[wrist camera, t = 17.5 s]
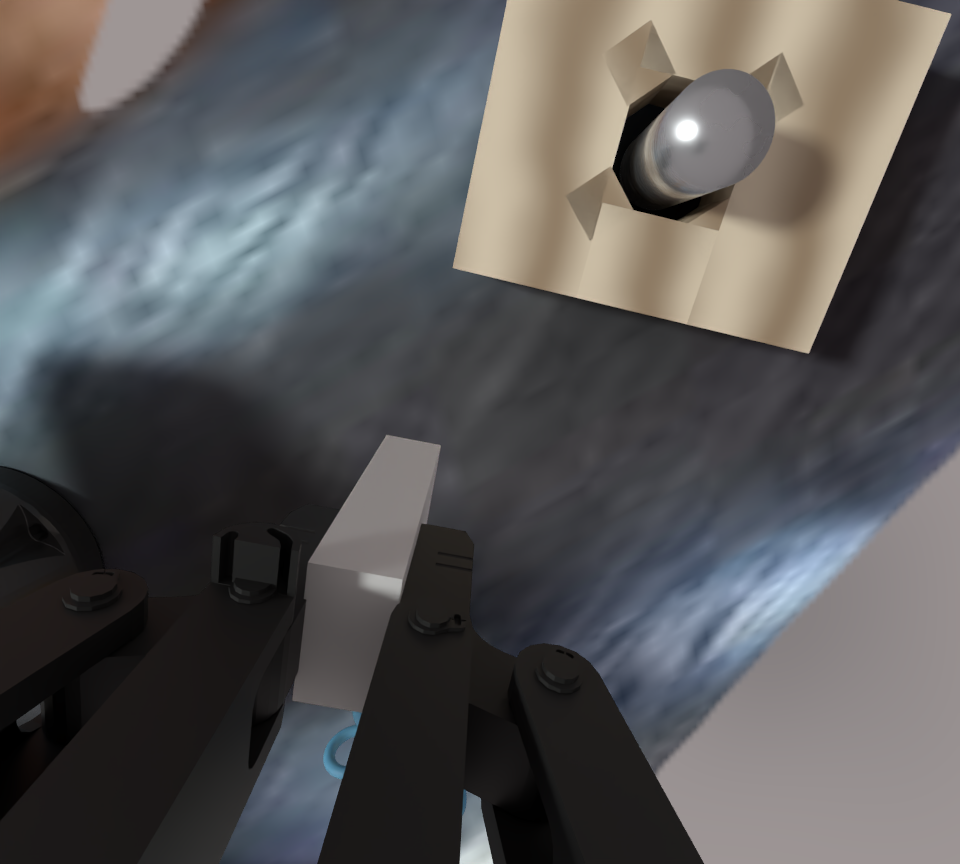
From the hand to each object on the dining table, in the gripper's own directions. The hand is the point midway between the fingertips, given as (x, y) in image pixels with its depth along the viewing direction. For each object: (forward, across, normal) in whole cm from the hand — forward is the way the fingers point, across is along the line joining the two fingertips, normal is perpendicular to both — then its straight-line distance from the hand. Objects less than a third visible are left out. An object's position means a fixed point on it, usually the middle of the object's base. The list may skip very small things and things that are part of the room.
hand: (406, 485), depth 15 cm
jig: (+21, -10, -13) cm, 27 cm away
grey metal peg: (+21, -10, -13) cm, 27 cm away
